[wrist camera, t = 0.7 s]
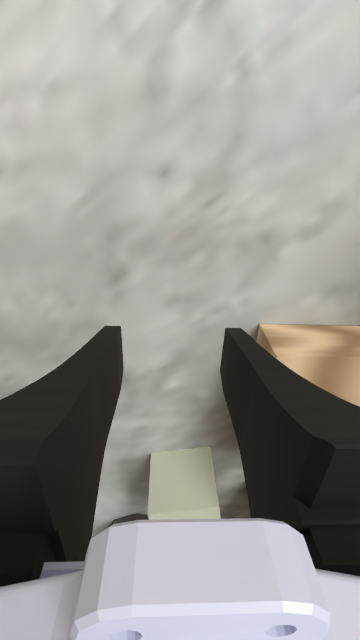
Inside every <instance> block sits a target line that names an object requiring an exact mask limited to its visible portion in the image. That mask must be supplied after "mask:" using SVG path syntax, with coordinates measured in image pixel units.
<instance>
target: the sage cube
mask: <svg viewBox="0 0 360 640" xmlns="http://www.w3.org/2000/svg"><path fill="white" fill-rule="evenodd" d="M148 518H149V520H167V519H221V516H220V508H219V501H218V494H217V487H216V480H215V474H214V467H213V460H212V453H211V446H207V447H198V448H190V449H182V450H174V451H165V452H157V453H151V461H150V479H149V497H148Z"/></svg>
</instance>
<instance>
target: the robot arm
mask: <svg viewBox="0 0 360 640" xmlns="http://www.w3.org/2000/svg"><path fill="white" fill-rule="evenodd" d="M220 372H221V379H222V386H223V392H224V395H225V399H226V402H227V406H228V409H229V413H230V416H231V419H232V423H233V426H234V430H235V433H236V437H237V440H238V444H239V448H240V453H241V459H242V464H243V470H244V476H245V482H246V488H247V494H248V500H249V507H250V514H251V518H234V519H167V520H135V521H129V522H123V523H117V524H113V525H111V526H110V527H108V528H106V529H105V530H103V531H101V532H100V533H98V534H97V535H95V536H94V537H93V538H91V536H92V529H93V522H94V515H95V508H96V501H97V495H98V488H99V481H100V475H101V469H102V463H103V457H104V451H105V446H106V442H107V438H108V434H109V431H110V427H111V423H112V420H113V416H114V412H115V409H116V405H117V401H118V398H119V394H120V390H121V383H122V375H123V354H122V337H121V326H105V327H104V328H102V329H101V330H100V331H99V332H98V333H97V334H96V335H95V336H94V337H93V338H92V339H91V340H90V341H89V342H87V343H86V344H85V345H84V346H83V347H82V348H81V349H80V350H79V351H77V352H76V353H75V354H74V355H73V356H71V357H70V358H69V359H68V360H66V361H65V362H64V363H63V364H61V365H60V366H59V367H57V368H56V369H54V370H53V371H51V372H50V373H48V374H47V375H45V376H44V377H42V378H41V379H39V380H37V381H36V382H34V383H32V384H30V385H28V386H27V387H25V388H23V389H21V390H19V391H17V392H15V393H14V394H12V395H10V396H8V397H6V398H3V399H1V400H0V640H360V407H359V406H357V405H354V404H352V403H350V402H348V401H346V400H343V399H341V398H339V397H337V396H335V395H333V394H331V393H329V392H327V391H325V390H324V389H322V388H320V387H318V386H316V385H315V384H313V383H311V382H310V381H308V380H306V379H305V378H303V377H301V376H300V375H298V374H297V373H295V372H294V371H292V370H291V369H289V368H288V367H287V366H285V365H284V364H283V363H281V362H280V361H279V360H277V359H276V358H275V357H274V356H272V355H271V354H270V353H269V352H268V351H266V350H265V349H264V348H263V347H262V346H260V345H259V344H258V343H257V342H256V341H255V340H254V339H253V338H251V337H250V336H249V335H248V334H247V333H246V332H245V331H243V330H242V329H241V328H226V329H225V336H224V344H223V352H222V359H221V367H220Z"/></svg>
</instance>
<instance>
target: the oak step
mask: <svg viewBox="0 0 360 640" xmlns="http://www.w3.org/2000/svg"><path fill="white" fill-rule="evenodd" d="M256 342H257V343H258V344H259V345H260V346H262V347H263V348H264V349H265V350H266V351H268V352H269V353H270V354H271V355H272V356H274V357H275V358H276V359H277V360H279V361H280V362H281V363H283V364H284V365H285V366H287V367H288V368H289V369H291V370H292V371H294V372H295V373H297V374H298V375H300V376H301V377H303V378H305V379H306V380H308V381H310V382H311V383H313V384H315V385H316V386H318V387H320V388H322V389H324V390H325V391H327V392H329V393H331V394H333V395H335V396H337V397H339V398H341V399H343V400H346V401H348V402H350V403H352V404H354V405H357V406H359V407H360V326H339V325H283V324H259V329H258V334H257V339H256Z"/></svg>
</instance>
